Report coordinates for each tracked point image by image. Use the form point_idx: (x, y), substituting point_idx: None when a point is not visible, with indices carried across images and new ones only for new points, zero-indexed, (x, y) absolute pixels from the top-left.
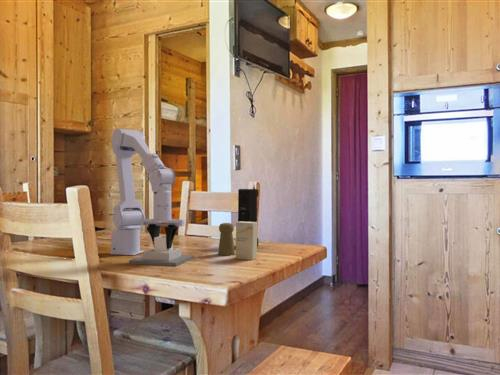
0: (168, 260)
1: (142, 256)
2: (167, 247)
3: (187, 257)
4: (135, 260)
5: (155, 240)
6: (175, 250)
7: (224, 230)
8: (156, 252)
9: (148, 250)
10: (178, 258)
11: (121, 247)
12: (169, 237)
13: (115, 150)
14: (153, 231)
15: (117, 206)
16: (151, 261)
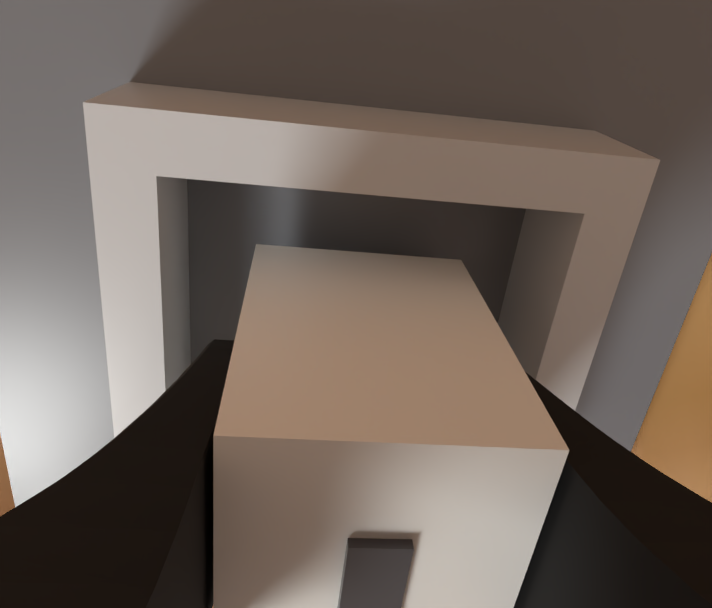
0: (142, 82)
1: (651, 347)
2: (225, 344)
3: (9, 384)
4: (700, 24)
5: (506, 398)
6: (107, 364)
7: None
8: (377, 132)
9: (584, 292)
10: (92, 296)
11: None
12: (90, 459)
13: None
14: (683, 587)
15: None
16: None
